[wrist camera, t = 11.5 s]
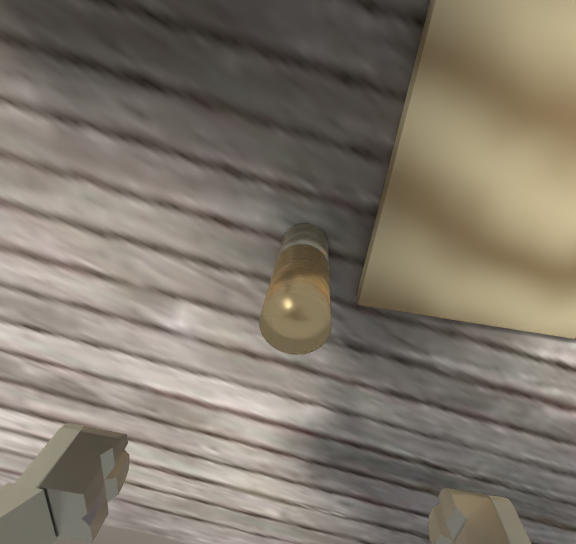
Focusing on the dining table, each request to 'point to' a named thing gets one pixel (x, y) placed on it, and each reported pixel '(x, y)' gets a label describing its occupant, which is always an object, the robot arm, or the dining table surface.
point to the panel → (484, 172)
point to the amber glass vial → (299, 293)
